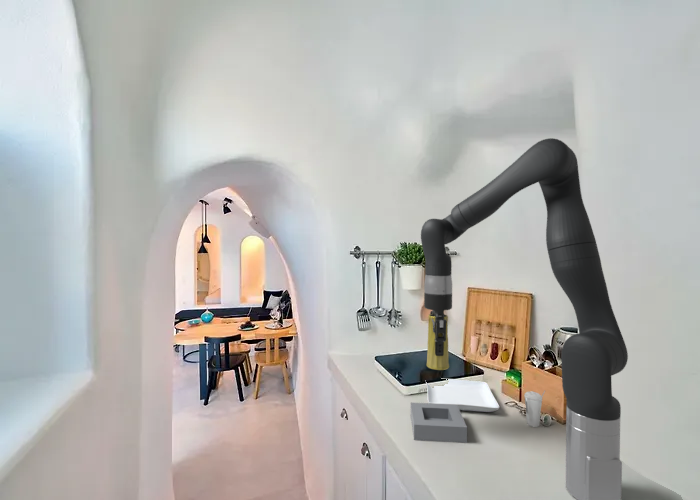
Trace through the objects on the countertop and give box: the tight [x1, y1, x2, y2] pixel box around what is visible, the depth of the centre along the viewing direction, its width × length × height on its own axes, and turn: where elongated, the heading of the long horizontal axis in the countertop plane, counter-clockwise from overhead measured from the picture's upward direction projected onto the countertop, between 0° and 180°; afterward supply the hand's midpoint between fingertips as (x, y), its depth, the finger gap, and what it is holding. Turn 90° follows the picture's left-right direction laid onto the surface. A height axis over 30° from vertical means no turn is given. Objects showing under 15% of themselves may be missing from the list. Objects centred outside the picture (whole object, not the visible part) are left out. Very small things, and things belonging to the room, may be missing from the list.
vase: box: [426, 313, 450, 371], centre depth 102 cm, size 6×6×14 cm
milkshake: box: [524, 390, 546, 428], centre depth 104 cm, size 5×5×10 cm
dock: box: [410, 402, 468, 444], centre depth 102 cm, size 14×14×4 cm
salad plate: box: [425, 378, 500, 413], centre depth 121 cm, size 21×21×3 cm
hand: (437, 351), depth 102 cm, fingers closed on vase, 5 cm apart
